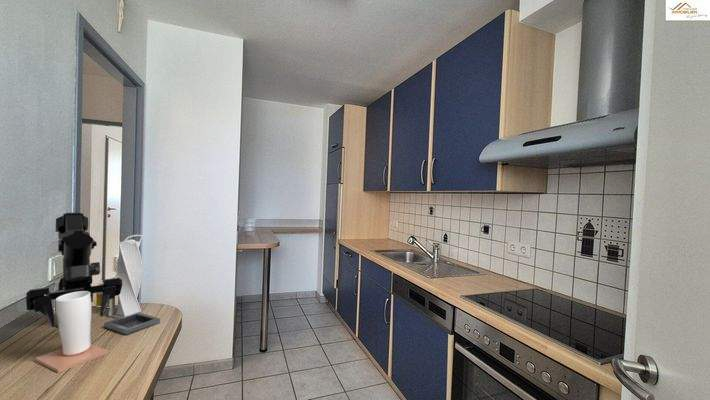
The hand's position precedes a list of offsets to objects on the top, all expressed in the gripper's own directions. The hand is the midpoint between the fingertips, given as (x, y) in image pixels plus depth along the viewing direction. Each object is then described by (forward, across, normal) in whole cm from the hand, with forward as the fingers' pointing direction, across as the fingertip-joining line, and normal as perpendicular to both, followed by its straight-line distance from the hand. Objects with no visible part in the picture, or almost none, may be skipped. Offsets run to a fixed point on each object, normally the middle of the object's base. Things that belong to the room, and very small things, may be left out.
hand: (78, 320), depth 76 cm
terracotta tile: (+6, -1, +8) cm, 10 cm away
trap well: (-3, +14, +17) cm, 22 cm away
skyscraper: (-13, +14, +26) cm, 32 cm away
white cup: (+4, 0, +8) cm, 9 cm away
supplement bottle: (-20, +9, +33) cm, 40 cm away
